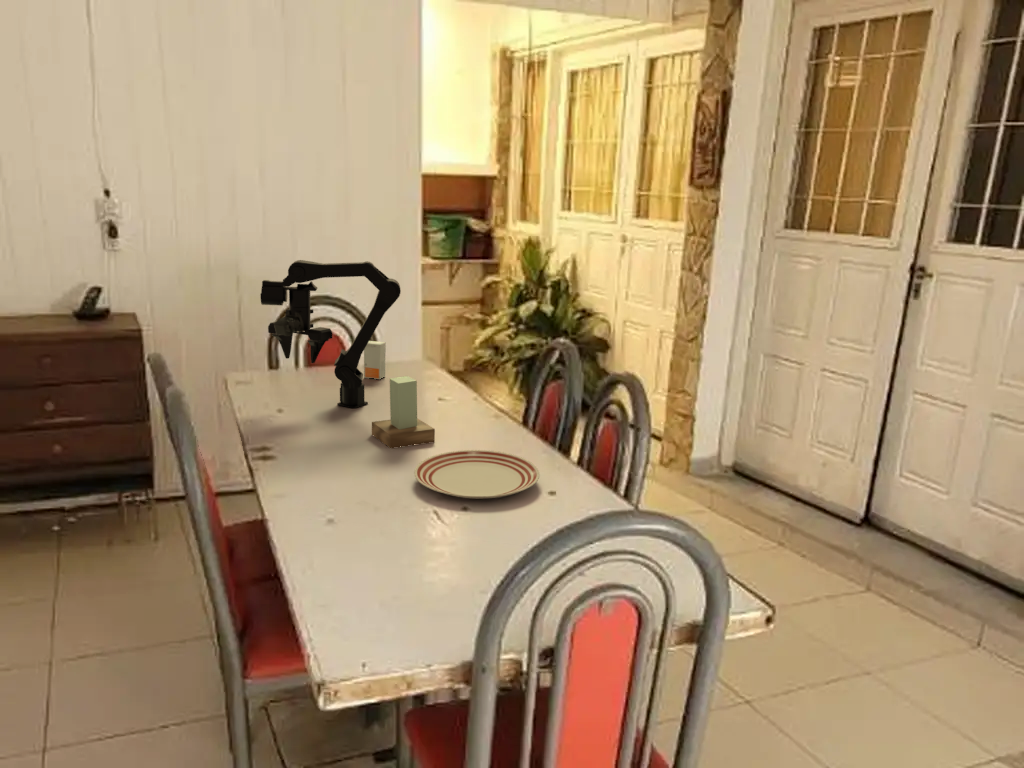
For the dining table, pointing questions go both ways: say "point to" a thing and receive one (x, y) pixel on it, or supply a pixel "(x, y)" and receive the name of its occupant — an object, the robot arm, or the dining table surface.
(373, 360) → the skincare box
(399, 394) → the sage block
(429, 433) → the walnut block
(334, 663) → the dining table surface
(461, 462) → the dinner plate
